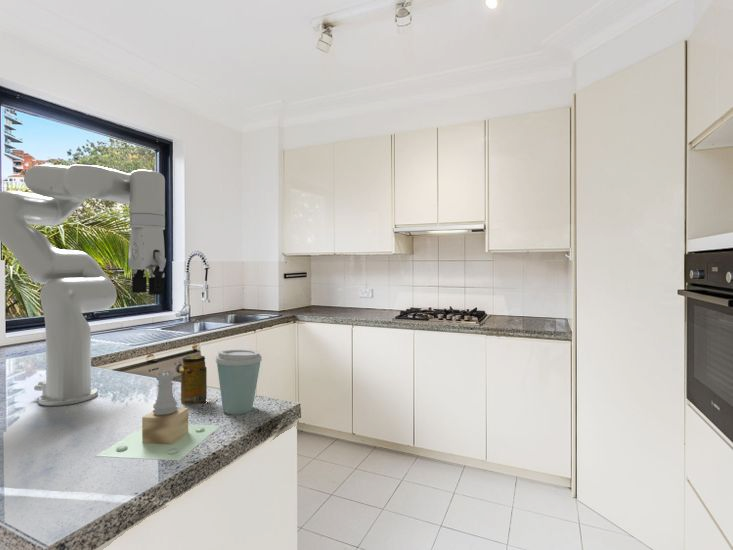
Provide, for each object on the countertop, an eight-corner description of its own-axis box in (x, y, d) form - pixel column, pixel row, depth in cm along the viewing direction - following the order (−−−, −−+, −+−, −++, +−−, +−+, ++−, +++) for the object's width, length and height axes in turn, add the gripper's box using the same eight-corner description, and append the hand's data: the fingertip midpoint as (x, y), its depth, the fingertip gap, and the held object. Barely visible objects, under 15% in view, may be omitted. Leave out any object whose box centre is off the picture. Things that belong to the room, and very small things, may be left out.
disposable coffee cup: (235, 403, 105) (235, 344, 104) (270, 408, 101) (271, 348, 101) (204, 417, 95) (205, 352, 95) (242, 424, 91) (243, 356, 91)
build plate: (94, 460, 73) (94, 454, 73) (149, 425, 89) (149, 420, 89) (179, 465, 72) (179, 458, 72) (220, 429, 88) (220, 424, 88)
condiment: (184, 399, 107) (184, 354, 107) (218, 399, 108) (218, 353, 108) (174, 409, 100) (174, 360, 100) (210, 408, 101) (210, 360, 101)
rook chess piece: (154, 409, 83) (154, 370, 83) (178, 407, 85) (178, 368, 84) (151, 417, 79) (151, 376, 79) (176, 414, 80) (176, 374, 80)
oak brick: (142, 443, 79) (142, 417, 79) (160, 430, 85) (160, 406, 85) (171, 444, 78) (171, 418, 78) (188, 431, 84) (188, 407, 84)
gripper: (117, 223, 102) (117, 292, 102) (146, 219, 91) (146, 296, 91) (148, 226, 107) (148, 291, 108) (179, 222, 96) (179, 294, 97)
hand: (147, 293), depth 99 cm, fingers open, 9 cm apart
